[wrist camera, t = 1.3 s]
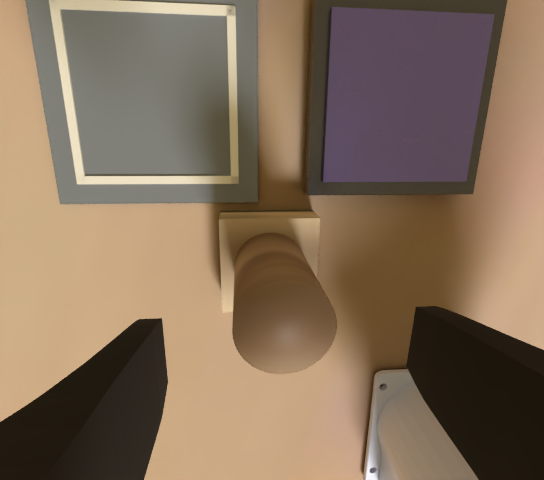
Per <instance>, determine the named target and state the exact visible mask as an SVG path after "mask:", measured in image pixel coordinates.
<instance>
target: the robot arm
mask: <svg viewBox="0 0 544 480" xmlns="http://www.w3.org/2000/svg"><path fill="white" fill-rule="evenodd" d="M407 368H408V369H397V370H382V371H379V372H377V373H376V374H375V377H374V385H373V394H372V403H371V412H370V421H369V430H368V439H367V448H366V457H365V466H364V475H363V479H364V480H544V350H542V349H540V348H537V347H535V346H532V345H530V344H527V343H525V342H523V341H520V340H518V339H515V338H513V337H511V336H508V335H506V334H504V333H501V332H499V331H497V330H495V329H492V328H490V327H488V326H485V325H483V324H481V323H478V322H476V321H474V320H471V319H469V318H467V317H464V316H462V315H459V314H457V313H454V312H452V311H449V310H446V309H443V308H440V307H437V306H429V307H416V310H415V316H414V323H413V329H412V335H411V341H410V347H409V354H408V360H407ZM167 384H168V378H167V368H166V357H165V346H164V336H163V325H162V318H159V319H138V320H137V321H136V322H134V323H133V324H132V325H130V326H129V327H128V328H127V329H126V330H124V331H123V332H122V333H121V334H120V335H118V336H117V337H116V338H115V339H114V340H112V341H111V342H110V343H109V344H108V345H106V346H105V347H104V348H103V349H102V350H100V351H99V352H98V353H97V354H95V355H94V356H93V357H92V358H90V359H89V360H88V361H87V362H86V363H84V364H83V365H82V366H80V367H79V368H78V369H76V370H75V371H74V372H72V373H71V374H70V375H68V376H67V377H66V378H64V379H63V380H62V381H60V382H59V383H58V384H56V385H55V386H53V387H52V388H51V389H49V390H48V391H47V392H45V393H44V394H42V395H41V396H40V397H38V398H37V399H35V400H34V401H32V402H31V403H29V404H28V405H26V406H25V407H23V408H22V409H20V410H19V411H17V412H15V413H14V414H12V415H11V416H9V417H8V418H6V419H4V420H3V421H1V422H0V480H144V477H145V474H146V470H147V467H148V464H149V460H150V457H151V454H152V450H153V447H154V443H155V440H156V436H157V433H158V430H159V426H160V422H161V419H162V414H163V408H164V402H165V396H166V390H167ZM381 384H384V385H383V386H380V385H381Z"/></svg>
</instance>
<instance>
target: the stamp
mask: <svg viewBox="0 0 544 480" xmlns="http://www.w3.org/2000/svg"><path fill="white" fill-rule="evenodd" d="M319 236H320V217H319V216H318V215H317V214H316V213H315V212H314V211H313V210H273V211H221V212H220V216H219V242H220V269H221V295H222V312H233V339H234V343H235V346H236V348H237V350H238V352H239V353H240V355H241V356H242V357H243V359H244V360H245V361H247V362H248V363H249V364H250V365H252V366H253V367H255V368H257V369H259V370H261V371H264V372H268V373H273V374H289V373H294V372H298V371H301V370H304V369H306V368H308V367H310V366H312V365H313V364H315V363H316V362H317V361H319V360H320V359H321V358H322V357H323V356H324V355H325V354H326V353H327V351H328V350H329V348H330V347H331V345H332V343H333V341H334V338H335V334H336V328H337V321H336V315H335V312H334V309H333V307H332V305H331V303H330V301H329V299H328V297H327V296H326V294H325V292H324V290H323V288H322V287H321V285H320V283H319V281H318V279H317V276H318V256H319Z"/></svg>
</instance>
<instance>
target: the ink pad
mask: <svg viewBox="0 0 544 480" xmlns="http://www.w3.org/2000/svg"><path fill="white" fill-rule="evenodd" d="M506 4H507V0H311V10H310V38H309V67H308V95H307V123H306V151H305V179H304V193H306V194H307V195H399V194H473V190H474V184H475V179H476V173H477V167H478V162H479V156H480V150H481V145H482V139H483V134H484V128H485V122H486V117H487V111H488V105H489V100H490V94H491V88H492V83H493V77H494V71H495V66H496V60H497V54H498V49H499V43H500V37H501V32H502V26H503V21H504V15H505V9H506Z"/></svg>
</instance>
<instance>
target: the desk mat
mask: <svg viewBox="0 0 544 480" xmlns="http://www.w3.org/2000/svg"><path fill="white" fill-rule="evenodd" d="M25 1H26V7H27V12H28V18H29V24H30V30H31V36H32V42H33V48H34V53H35V59H36V65H37V71H38V77H39V83H40V89H41V95H42V100H43V106H44V112H45V118H46V124H47V130H48V136H49V141H50V147H51V153H52V159H53V165H54V171H55V177H56V182H57V188H58V194H59V200H60V204H129V203H245V202H258V20H257V0H25Z"/></svg>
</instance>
